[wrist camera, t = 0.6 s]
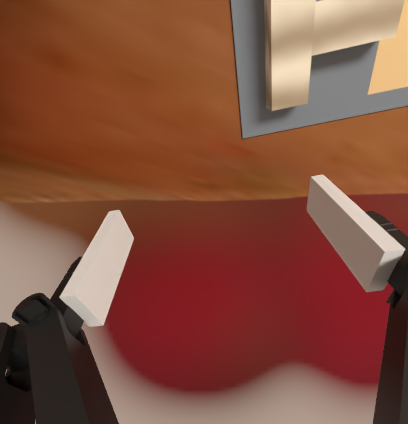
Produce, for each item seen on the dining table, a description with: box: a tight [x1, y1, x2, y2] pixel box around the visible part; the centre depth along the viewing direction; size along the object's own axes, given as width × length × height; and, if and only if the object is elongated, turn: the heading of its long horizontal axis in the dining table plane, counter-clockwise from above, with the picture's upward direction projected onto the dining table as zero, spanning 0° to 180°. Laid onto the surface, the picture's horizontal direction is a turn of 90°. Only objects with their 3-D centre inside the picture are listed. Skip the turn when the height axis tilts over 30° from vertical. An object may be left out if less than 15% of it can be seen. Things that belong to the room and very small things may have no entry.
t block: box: [264, 0, 405, 111], centre depth 26 cm, size 16×15×3 cm
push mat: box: [231, 0, 408, 139], centre depth 27 cm, size 24×36×1 cm, turn 101°
